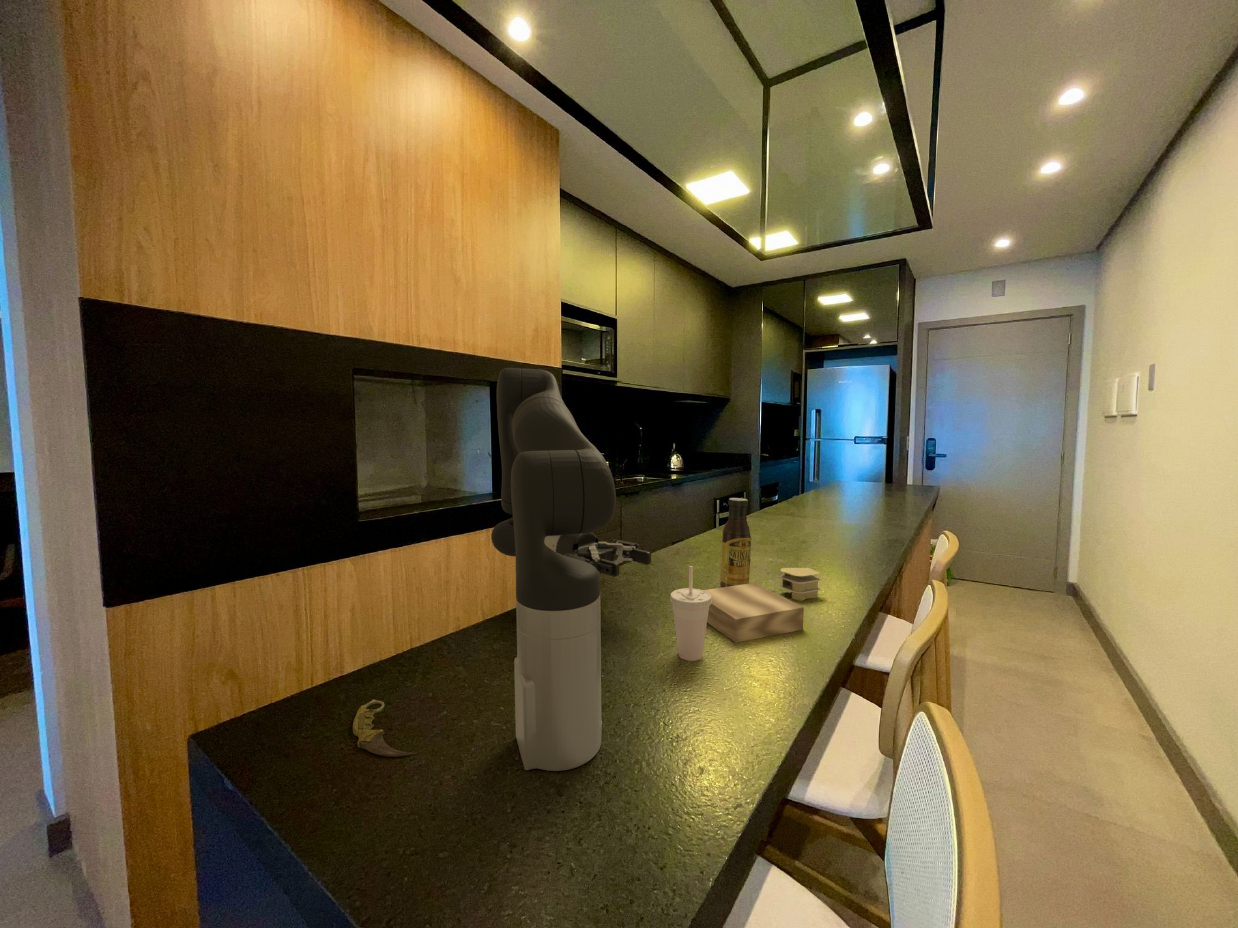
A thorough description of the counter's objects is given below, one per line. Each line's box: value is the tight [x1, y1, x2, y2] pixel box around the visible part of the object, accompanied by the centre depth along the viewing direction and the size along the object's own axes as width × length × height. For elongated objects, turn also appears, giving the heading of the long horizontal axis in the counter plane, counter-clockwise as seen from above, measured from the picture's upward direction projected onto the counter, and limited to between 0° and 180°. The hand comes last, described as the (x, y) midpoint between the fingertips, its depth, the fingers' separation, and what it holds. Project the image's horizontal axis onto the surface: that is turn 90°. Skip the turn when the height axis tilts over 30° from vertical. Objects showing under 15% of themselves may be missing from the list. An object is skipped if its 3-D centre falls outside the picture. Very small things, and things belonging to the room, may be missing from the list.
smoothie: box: [669, 565, 712, 662], centre depth 75 cm, size 6×6×14 cm
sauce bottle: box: [719, 497, 752, 588], centre depth 104 cm, size 6×6×20 cm
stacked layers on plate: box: [779, 567, 821, 601], centre depth 101 cm, size 10×9×6 cm
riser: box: [704, 582, 805, 644], centre depth 88 cm, size 14×14×4 cm
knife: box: [352, 699, 423, 758], centre depth 57 cm, size 14×1×5 cm
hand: (634, 564), depth 82 cm, fingers open, 8 cm apart
